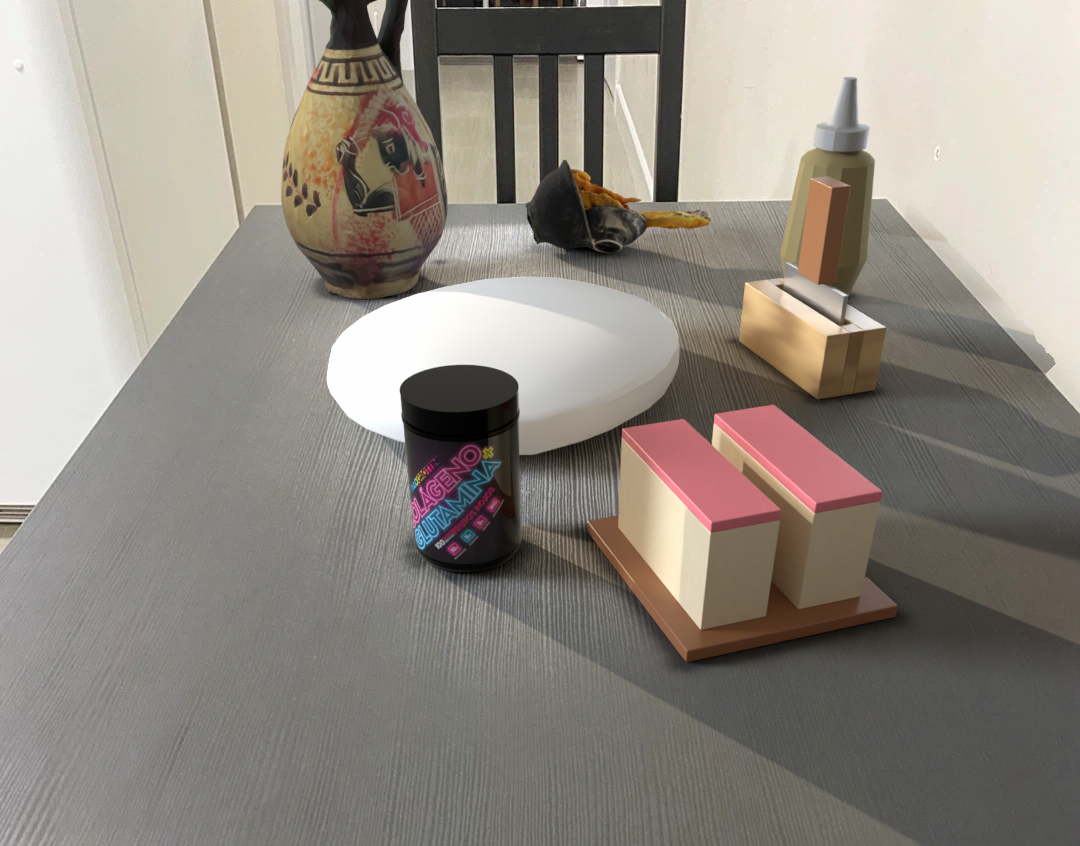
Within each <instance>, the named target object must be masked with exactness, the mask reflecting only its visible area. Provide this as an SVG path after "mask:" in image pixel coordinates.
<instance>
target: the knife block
mask: <svg viewBox="0 0 1080 846" xmlns="http://www.w3.org/2000/svg"><path fill="white" fill-rule="evenodd" d="M783 285H784V277H777V278H770V279H761V280H754V281H746V282H744V289H743V290H744V291H743V300H742V309H741V317H740V328H739V335H738V336H739V337H738V341H739V342H740V343H741V344H742V345H743V346H744V347H746V348H747V349H748V350H750V351H752V352H753V353H754V354H755V355H757V356H758V357H760V358H761V359H763V361H764V362H766V363H768V364H769V365H770V366H771V367H773V368H774V369H776V370H777V371H778V372H780V373H781V374H783V375H784V376H785V377H786V378H788V379H789V380H790V381H792V382H793V383H794V384H796V385H797V386H798V387H800V388H801V389H803V390H804V391H805V392H807V393H808V394H809V395H810V396H812V397H813V398H814V399H815V400H823V399H830V398H836V397H841V396H847V395H852V394H861V393H867V392H872V391H875V390H876V385H877V381H878V375H879V370H880V365H881V359H882V354H883V349H884V346H885V345H884V344H885V339H886V333H887V330H888V329H887V326H885V325H883V324H881V323H880V322H878V321H876V320H875V319H873V318H871V316H870V317H869V316H868V315H867V314H864V313H863V312H861V311H859V310H857V309H856V308H854V307H853V306H851V305H850V304H848V303H847V308H846V314H845V320H844V325H843V326H838V325H837V324H835V323H834V322H832V321H830V320H829V319H827V318H826V317H824V316H823V315H821V314H819V313H818V312H816V311H815V310H813V309H811V308H810V307H808V306H807V305H805V304H804V303H802V302H800V301H799V300H797V299H796V298H794V297H792V296H791V295H789V294H788V293H786V292H785V291H783Z"/></svg>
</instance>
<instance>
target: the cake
mask: <svg viewBox="0 0 1080 846" xmlns="http://www.w3.org/2000/svg"><path fill="white" fill-rule="evenodd" d="M713 418H714V419H713V428H712V438H711V443H710V441H708V440H707V439H706V438H705V437H704V436H703V435H702V434H701V433H700V432H698V430H697V429H696V428H694V426H693V425H691V424H690V423H689V422H688V421H687V420H686V419H684V418H680V419H675V420H673V419H672V420H668V421H662V422H661V421H660V422H655V423H654V422H653V423H649V424H642V425H636V426H630V427H623V428H622V429H621V444H620V445H621V447H620V448H621V449H620V470H619V471H620V473H619V497H618V515H613V516H607V517H603V518H602V517H601V518H595V519H590V520H587V522H586V532H587V534H588V535H589V536H590V537H591V539H592V540H593V541H594V543H595V544H596V545H597V547H598V548H599V549H600V551H601V552H602V553H603V554H604V556H605V557H606V558H607V560H608V561H609V562H610V564H611V565H612V566H613V568H614V569H615V570H616V572H617V573H618V574H619V576H620V577H621V579H622V580H623V581H624V583H626V585H627V587H628V588H629V589H630V590H631V592H632V593H633V594H634V595H635V597H636V598H637V600H638V601H639V602H640V603H641V605H642V606H643V607H644V609H645V610H646V611H647V613H648V614H649V615H650V617H651V618H652V619H653V621H654V622H655V624H656V625H657V626H658V627H659V629H660V630H661V631H662V632H663V634H664V635H665V637H666V638H667V639H668V640H669V642H670V643H671V645H672V646H673V647H674V648H675V650H676V651H677V652H678V654H679V655H680V656H681V658H682V659H683V660H684V662H685V663H691V662H694V661H699V660H704V659H708V658H709V659H710V658H713V657H718V656H723V655H726V654H731V653H736V652H741V651H745V650H750V649H755V648H760V647H764V646H768V645H772V644H778V643H781V642H786V641H791V640H796V639H801V638H805V637H810V636H815V635H818V634H823V633H827V632H833V631H837V630H842V629H847V628H850V627H856V626H859V625H864V624H869V623H874V622H879V621H882V620H887V619H891V618H895V617H897V611H898V608H899V607H898V604H896V602H895V601H893V600H892V598H890V596H888V595H887V594H886V593H885V592H884V591H882V589H880V588H879V587H878V585H876V584H875V583H874V582H873V581H872V580H871V579H870V578H869V577H867V575H866V574H867V573H866V572H867V568H868V564H869V559H870V554H871V549H872V544H873V539H874V536H875V535H874V534H875V529H876V525H877V521H878V515H879V510H880V507H881V500H882V497H883V496H882V495H883V491H882V490H881V489H880V488H879V487H878V486H876V485H875V484H874V483H873V482H871V481H870V480H869V479H868V478H866V477H865V476H864V475H863V474H861V473H860V472H859V471H858V470H857V469H855V468H854V467H852V466H851V465H850V464H848V462H846V461H845V460H844V459H843V458H841V457H840V456H839V455H838V454H836V453H835V452H834V451H832V450H831V449H830V448H829V447H827V446H826V445H825V444H823V443H822V442H821V441H820V440H819V439H818V438H816V437H815V436H814V435H812V434H811V433H810V432H809V431H808V430H806V429H805V428H804V427H802V426H801V425H800V424H799V423H797V422H796V421H795V420H794V419H792V418H791V417H790V416H788V415H787V414H786V413H785V412H784V411H783V410H781V409H780V408H779V407H778V406H776V405H775V404H770V405H769V404H768V405H763V406H756V407H750V408H745V409H738V410H730V411H725V412H719V413H718V412H717V413H715V414H714V417H713Z"/></svg>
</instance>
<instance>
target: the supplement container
mask: <svg viewBox="0 0 1080 846" xmlns="http://www.w3.org/2000/svg"><path fill="white" fill-rule="evenodd" d="M400 401H401V418H402V422H403V427H404V438H405V443H404V449H405V459H406V469H407V480H408V489H409V491H408V492H409V501H410V510H411V523H412V533H413V544H414V547H415V550H416V551H417V553H418V554H419V556H420V557H421V558H422V559H423V560H424V561H425V562H426V563H428V564H429V565H430V566H432V567H433V568H436V569H439V570H442V571H446V572H451V573H458V574H471V573H473V574H474V573H480V572H486V571H490V570H493V569H496V568H498V567H500V566H502V565H504V564H505V563H507V562H509V561H510V560H511V559H512V558H513V557H514V556H515V554H516V553H517V552H518V551H519V548H520V546H521V543H522V507H521V505H522V504H521V500H522V499H521V498H522V497H521V461H520V460H521V459H520V458H521V455H520V453H519V416H520V409H519V385H518V382H517V380H516V379H515V378H514V377H513V376H511V375H510V374H508V373H506V372H504V371H501V370H499V369H495V368H491V367H486V366H479V365H448V366H441V367H435V368H431V369H427V370H424V371H421V372H418V373H416V374H414V375H412V376H410V377H409V378H407V379H406V380H405V381H404V382H403V383H402V384H401V386H400Z"/></svg>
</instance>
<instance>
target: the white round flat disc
mask: <svg viewBox="0 0 1080 846" xmlns="http://www.w3.org/2000/svg"><path fill="white" fill-rule="evenodd" d="M680 350H681V347H680V339H679V333H678V331H677V328H676V327H675V324H674V322H673V320H672V319H671V318H670V317H669V316H668V315H667V314H666V313H664V312H663V311H662V310H660V309H659V308H658V306H656V305H655V304H653V303H651V302H649V301H646V299H645V300H644V299H642V298H641V297H638V296H636V295H633V294H630V293H627V292H624V291H621V290H617V289H615V288H611V287H608V286H604V285H599V284H595V283H591V282H586V281H581V280H576V279H568V278H562V277H555V276H527V275H522V276H507V277H495V278H494V277H493V278H483V279H478V280H472V281H467V282H462V283H457V284H451V285H446V286H442V287H439V288H434V289H430V290H427V291H423V292H419V293H416V294H412V295H409V296H407V297H404V298H401V299H399V300H396V301H393V302H391V303H388V304H385V305H383V306H380V307H379V308H377V309H375V310H373V311H371V312H369V313H367V314H365V315H364V316H361V317H360V318H359V319H358V320H357V321H355V322H354V323H352V324H351V325H350V326H349V327H348V328H346V329H345V330H344V331H343V332H342V333H341V334H340V335H339V336H338V338H337V339H336V341H335V343H333V345H332V346H331V351H330V356H329V361H328V365H327V372H326V373H327V374H326V383H327V387H328V390H329V393H330V395H331V396H332V397H333V399H334V400H335V401H336V403H337V404H338V406H339V407H340V408H341V409H342V411H343V412H344V414H345V415H346V416H347V418H349V419H350V420H351V421H354V422H355V423H356V424H357V425H359V426H361V427H362V428H364V429H366V430H367V431H370V432H372V433H375V434H377V435H380V436H382V437H386V438H387V439H390V440H393V441H396V442H399V443H403V444H405V438H404V427H403V422H402V418H401V401H400V386H401V384H402V383H403V382H404V381H405V380H406V379H407V378H409V377H410V376H412V375H414V374H416V373H418V372H421V371H424V370H427V369H431V368H435V367H441V366H448V365H479V366H486V367H491V368H495V369H499V370H501V371H504V372H506V373H508V374H510V375H511V376H513V377H514V378H515V379H516V380H517V382H518V385H519V409H520V416H519V453H520V456H535V455H539V454H542V453H546V452H548V451H553V450H556V449H560V448H563V447H567V446H570V445H574V444H578V443H581V442H584V441H586V440H589V439H591V438H594V437H596V436H599V435H602V434H604V433H606V432H610V431H611V430H613V429H615V428H617V427H619V426H621V425H622V424H625V423H626V422H628V421H629V420H631V419H633V418H635V417H636V416H639V415H640V414H642V413H644V412H646V411H647V410H649V409H650V408H651V407H652V406H653V405H655V404H656V403H657V402H658V401H659V400H660V399H661V398H662V397H664V395H666V392H667V390H668V389H669V387H670V385H671V383H672V382H673V380H674V379H675V376H676V374H677V372H678V371H677V370H678V368H679V363H680Z"/></svg>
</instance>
